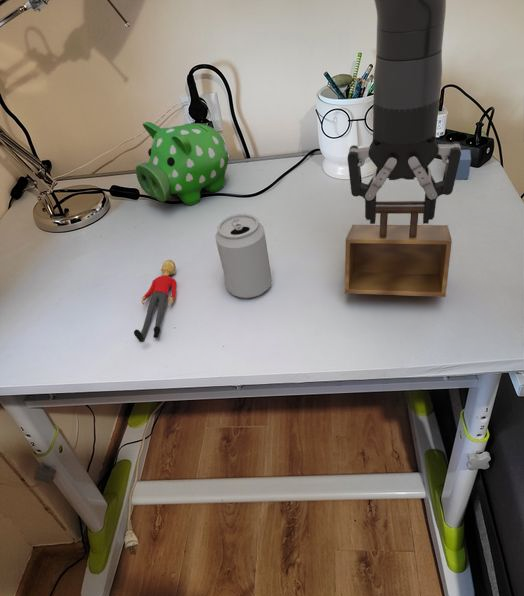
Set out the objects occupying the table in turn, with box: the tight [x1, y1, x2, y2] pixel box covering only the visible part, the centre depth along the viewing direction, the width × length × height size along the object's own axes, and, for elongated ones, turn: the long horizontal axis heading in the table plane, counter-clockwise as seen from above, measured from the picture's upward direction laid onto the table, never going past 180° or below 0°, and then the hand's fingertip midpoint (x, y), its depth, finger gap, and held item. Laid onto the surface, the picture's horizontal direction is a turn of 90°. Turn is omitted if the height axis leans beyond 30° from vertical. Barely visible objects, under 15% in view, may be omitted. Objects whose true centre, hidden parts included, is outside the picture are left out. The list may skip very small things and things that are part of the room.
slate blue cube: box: [455, 149, 472, 180], centre depth 97 cm, size 4×4×4 cm
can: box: [214, 213, 273, 299], centre depth 79 cm, size 8×8×12 cm
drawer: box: [344, 200, 453, 298], centre depth 74 cm, size 14×9×13 cm, turn 77°
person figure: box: [133, 259, 177, 343], centre depth 82 cm, size 5×4×18 cm
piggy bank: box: [135, 121, 229, 206], centre depth 103 cm, size 14×18×15 cm
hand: (399, 220), depth 71 cm, fingers closed on drawer, 6 cm apart
